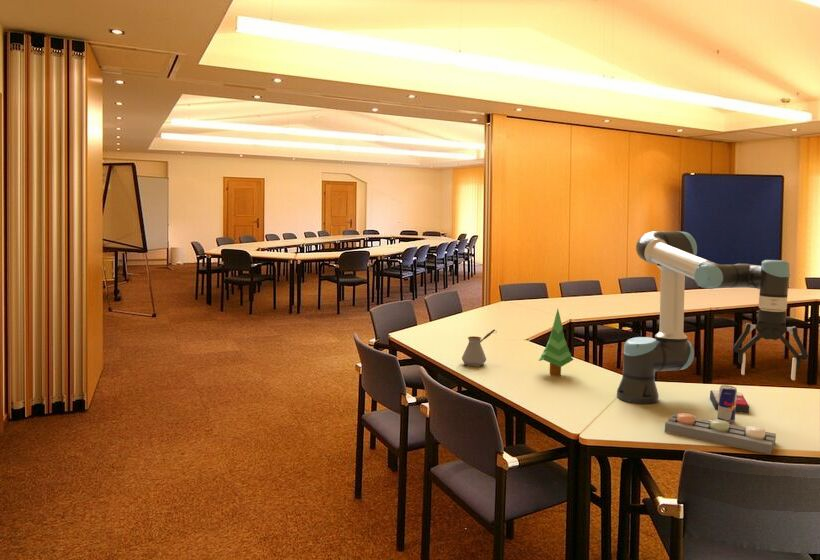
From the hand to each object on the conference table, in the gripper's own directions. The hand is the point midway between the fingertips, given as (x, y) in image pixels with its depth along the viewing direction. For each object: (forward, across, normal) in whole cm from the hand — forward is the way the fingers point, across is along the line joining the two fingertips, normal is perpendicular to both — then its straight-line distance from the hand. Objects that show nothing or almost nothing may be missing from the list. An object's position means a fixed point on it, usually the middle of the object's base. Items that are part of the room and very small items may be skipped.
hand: (767, 376), depth 188 cm
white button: (+18, -3, -6) cm, 20 cm away
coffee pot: (+20, -112, +51) cm, 125 cm away
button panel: (+20, -13, -4) cm, 24 cm away
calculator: (+21, -8, +34) cm, 41 cm away
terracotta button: (+18, -22, -3) cm, 29 cm away
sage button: (+18, -13, -4) cm, 23 cm away
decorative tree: (+20, -76, +46) cm, 91 cm away
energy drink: (+20, -10, +14) cm, 27 cm away
